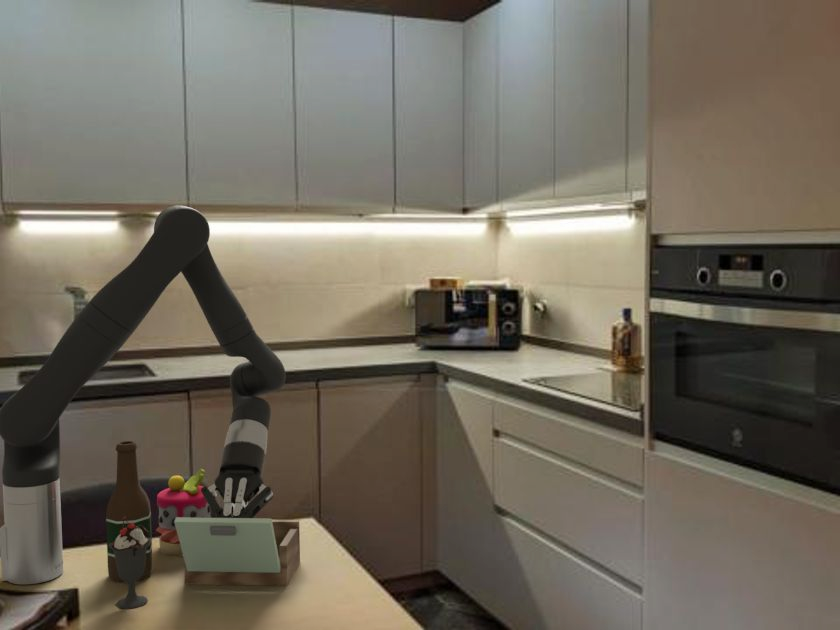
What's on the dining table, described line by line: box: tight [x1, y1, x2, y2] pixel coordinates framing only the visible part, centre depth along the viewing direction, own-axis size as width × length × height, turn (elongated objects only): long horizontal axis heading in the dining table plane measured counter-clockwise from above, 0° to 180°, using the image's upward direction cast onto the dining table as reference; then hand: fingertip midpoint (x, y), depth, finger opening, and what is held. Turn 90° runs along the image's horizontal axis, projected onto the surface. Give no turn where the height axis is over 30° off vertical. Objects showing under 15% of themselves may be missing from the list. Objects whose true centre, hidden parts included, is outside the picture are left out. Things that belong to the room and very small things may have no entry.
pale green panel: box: [174, 517, 281, 573], centre depth 147 cm, size 16×2×12 cm, turn 87°
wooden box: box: [183, 519, 301, 587], centre depth 156 cm, size 18×11×8 cm, turn 87°
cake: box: [155, 468, 214, 557], centre depth 170 cm, size 10×11×15 cm
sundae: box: [109, 517, 151, 610], centre depth 143 cm, size 7×7×15 cm
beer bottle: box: [105, 440, 153, 584], centre depth 155 cm, size 8×8×24 cm
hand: (228, 539), depth 147 cm, fingers closed
